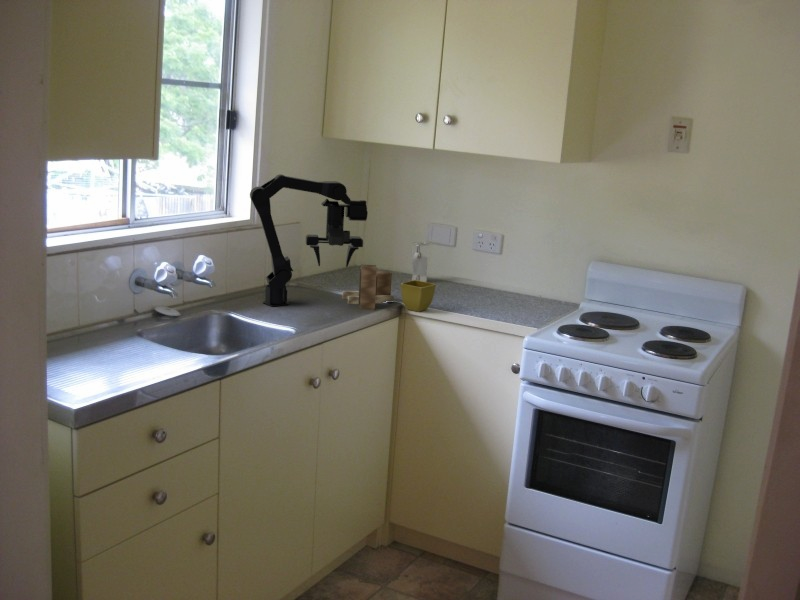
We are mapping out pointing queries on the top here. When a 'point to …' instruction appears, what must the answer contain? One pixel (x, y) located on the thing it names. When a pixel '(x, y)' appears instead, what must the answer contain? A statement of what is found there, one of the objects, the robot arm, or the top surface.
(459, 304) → the top surface
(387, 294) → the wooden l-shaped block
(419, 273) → the soap dispenser bottle
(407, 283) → the flower pot
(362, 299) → the finger block
